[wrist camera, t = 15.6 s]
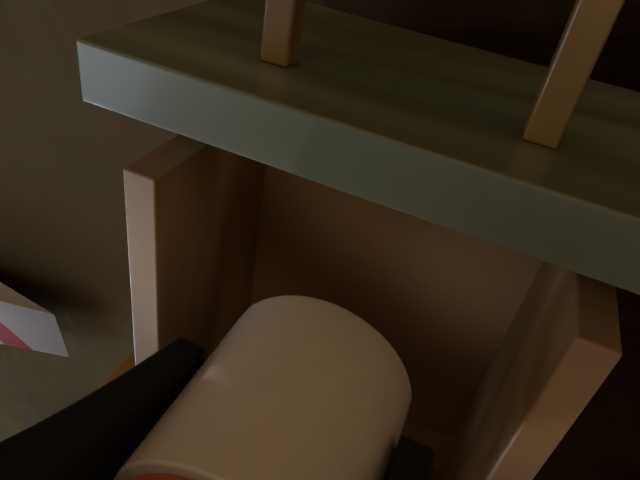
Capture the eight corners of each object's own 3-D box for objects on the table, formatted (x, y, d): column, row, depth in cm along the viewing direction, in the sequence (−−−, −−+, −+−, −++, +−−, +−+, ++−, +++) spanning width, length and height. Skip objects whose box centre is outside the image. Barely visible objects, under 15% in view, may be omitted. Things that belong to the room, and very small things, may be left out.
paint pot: (386, 465, 13) (306, 705, 9) (228, 393, 14) (96, 583, 10) (437, 343, 11) (357, 601, 7) (241, 265, 12) (71, 453, 8)
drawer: (271, -247, 12) (33, -356, 7) (842, -153, 10) (1164, -210, 4) (225, 327, 23) (118, 459, 18) (490, 441, 20) (458, 634, 15)
